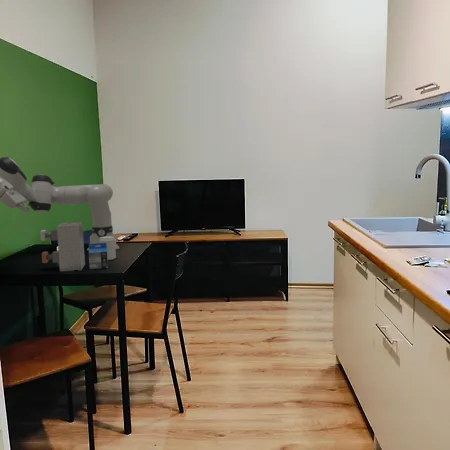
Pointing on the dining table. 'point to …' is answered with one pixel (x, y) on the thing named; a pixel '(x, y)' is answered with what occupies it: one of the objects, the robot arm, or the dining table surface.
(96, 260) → the label tape box
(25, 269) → the dining table surface
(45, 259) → the brown block
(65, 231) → the box
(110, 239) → the beverage can
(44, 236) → the white key
